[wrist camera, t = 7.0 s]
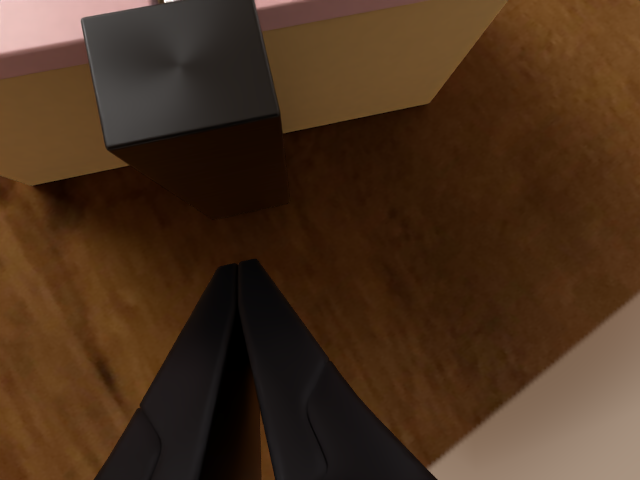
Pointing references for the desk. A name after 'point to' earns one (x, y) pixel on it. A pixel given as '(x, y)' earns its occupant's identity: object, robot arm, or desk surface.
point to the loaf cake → (283, 54)
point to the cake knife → (191, 101)
